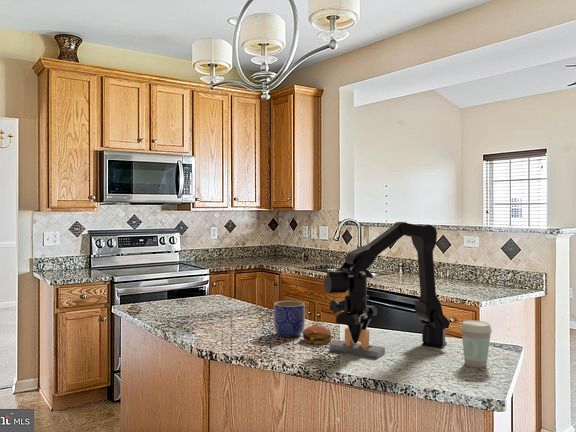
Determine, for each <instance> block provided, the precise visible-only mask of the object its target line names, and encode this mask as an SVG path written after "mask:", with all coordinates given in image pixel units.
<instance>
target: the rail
mask: <svg viewBox="0 0 576 432" xmlns="http://www.w3.org/2000/svg"><path fill="white" fill-rule="evenodd" d="M385 351H386V347H385V346H378V345H372V344H369V349H362V348H361V342H357V343H353V346H352V347H349V346H345V340H339V339H338V340H335V341H334V342H332V343H330V344H329V352H336V353H342V354H348V355H354V356H359V357H365V358H371V359H379V358H381V357H382V356H384V355H385V354H386V352H385Z"/></svg>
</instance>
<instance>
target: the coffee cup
mask: <svg viewBox="0 0 576 432" xmlns="http://www.w3.org/2000/svg"><path fill="white" fill-rule="evenodd" d="M459 329H460V330H461V339H462V348H463V358H464V364H465V365H466V366H468V367H471V368H485V367H486V366H487V362H488V357H489V354H488V353H489V350H490V349H489V347H490V341H491V335H492V334H491V333H492V332H493V330H492V327H491V324H490V322H487V321H482V320H475V319H474V320H471V319H469V320H467V319H466V320H464V321H462V322H461V325H460V328H459Z"/></svg>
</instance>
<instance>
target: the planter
mask: <svg viewBox="0 0 576 432" xmlns="http://www.w3.org/2000/svg"><path fill="white" fill-rule="evenodd" d="M305 305H306V304H305V303H304V302H302V301H299V300H280V301H276V302H274V303H273V326H274V331H275V332H276V333H277V335H278V336H280V337H282V338H295V337H298V336H301V334H303V331H304V329H305V321H306V320H305V319H306V310H305V309H306V307H305Z"/></svg>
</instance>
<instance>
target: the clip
mask: <svg viewBox="0 0 576 432" xmlns="http://www.w3.org/2000/svg"><path fill="white" fill-rule="evenodd" d="M344 341H345V346H349V347H352V346H353V339H352V336H351V333H350V330H349V327H348V326H347V327H346V328H344ZM357 343H360V344H361V348H362V349H369V345H370V329H367V328H366V329H362V330H361V333H360V336H359V339H358V342H357Z"/></svg>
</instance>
